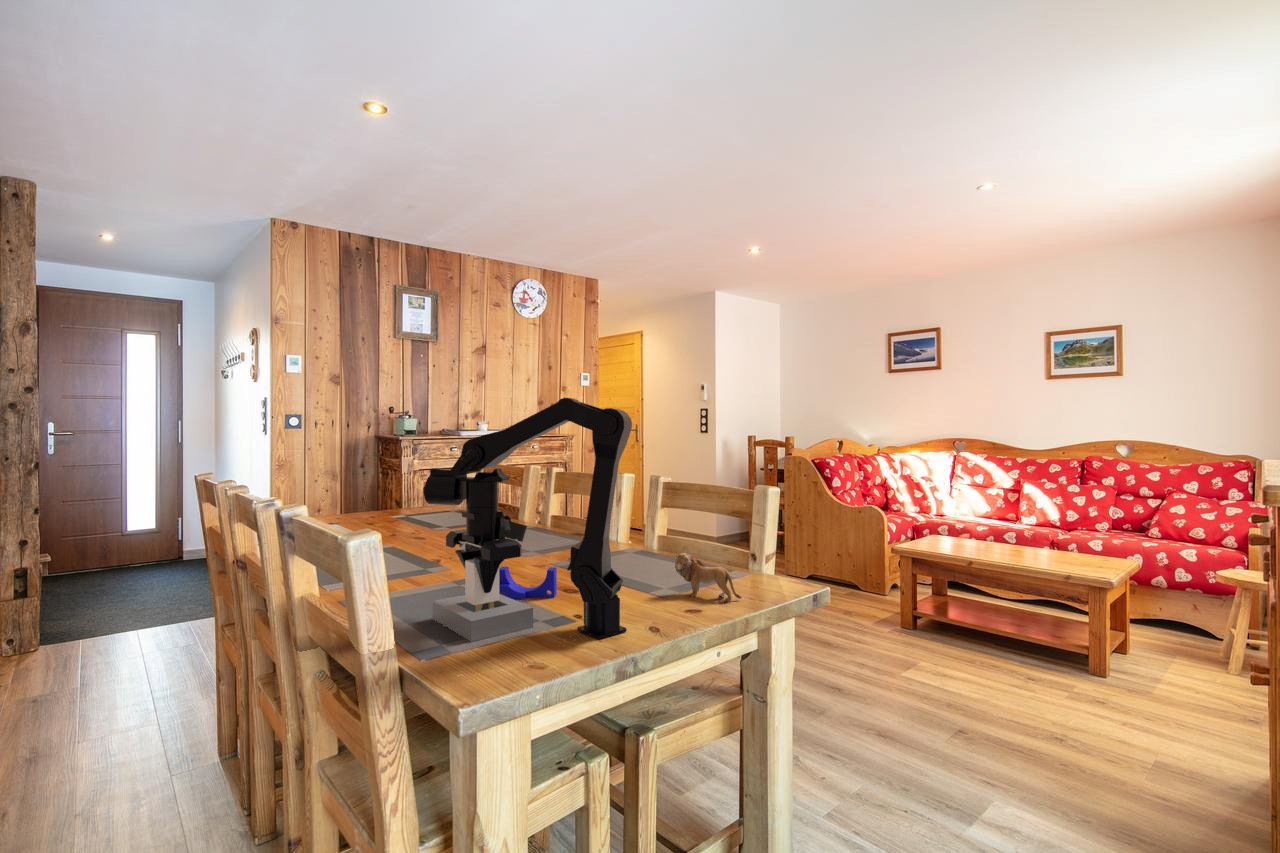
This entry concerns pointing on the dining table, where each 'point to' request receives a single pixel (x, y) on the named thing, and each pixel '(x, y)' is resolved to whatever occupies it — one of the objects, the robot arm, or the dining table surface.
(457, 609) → the socket block
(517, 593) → the blue pipe saddle bracket
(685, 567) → the lion figurine
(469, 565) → the plug
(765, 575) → the dining table surface
